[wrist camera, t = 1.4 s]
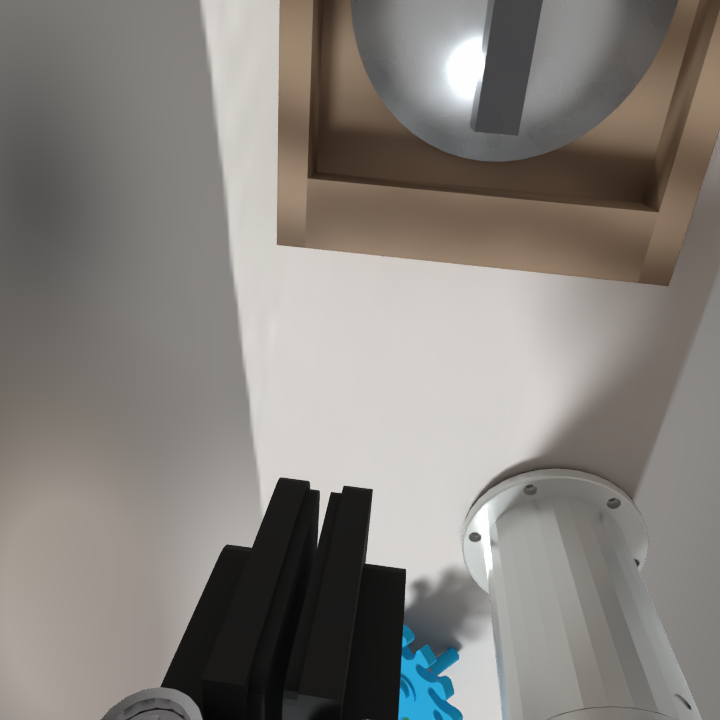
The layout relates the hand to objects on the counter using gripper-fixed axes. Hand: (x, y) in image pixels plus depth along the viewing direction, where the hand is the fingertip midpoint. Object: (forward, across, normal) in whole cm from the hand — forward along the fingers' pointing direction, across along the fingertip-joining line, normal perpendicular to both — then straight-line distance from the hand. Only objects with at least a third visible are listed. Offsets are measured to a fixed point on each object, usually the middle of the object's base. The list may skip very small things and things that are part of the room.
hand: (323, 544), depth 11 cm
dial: (+23, -4, -12) cm, 26 cm away
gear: (+25, -5, +34) cm, 43 cm away
